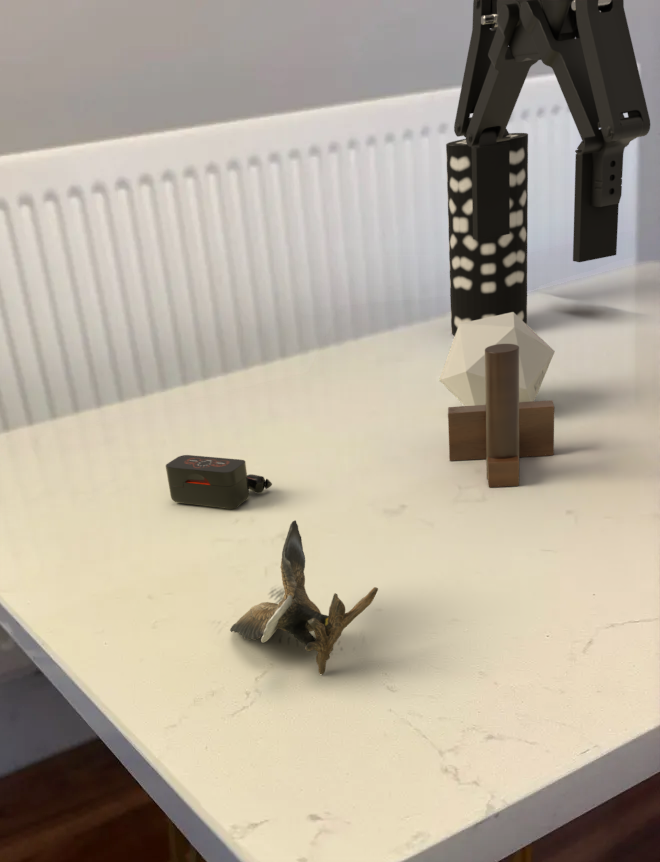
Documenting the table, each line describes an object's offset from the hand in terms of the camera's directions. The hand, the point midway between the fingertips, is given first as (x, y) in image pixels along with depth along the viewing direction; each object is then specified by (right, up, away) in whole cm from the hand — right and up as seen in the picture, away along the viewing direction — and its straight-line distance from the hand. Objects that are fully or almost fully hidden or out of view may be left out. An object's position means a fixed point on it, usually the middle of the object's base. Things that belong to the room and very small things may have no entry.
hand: (538, 247), depth 73 cm
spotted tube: (+8, +6, +44) cm, 45 cm away
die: (+2, -8, +19) cm, 21 cm away
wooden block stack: (-1, -15, +7) cm, 16 cm away
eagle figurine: (-18, -28, -13) cm, 36 cm away
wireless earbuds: (-22, -17, +9) cm, 30 cm away
